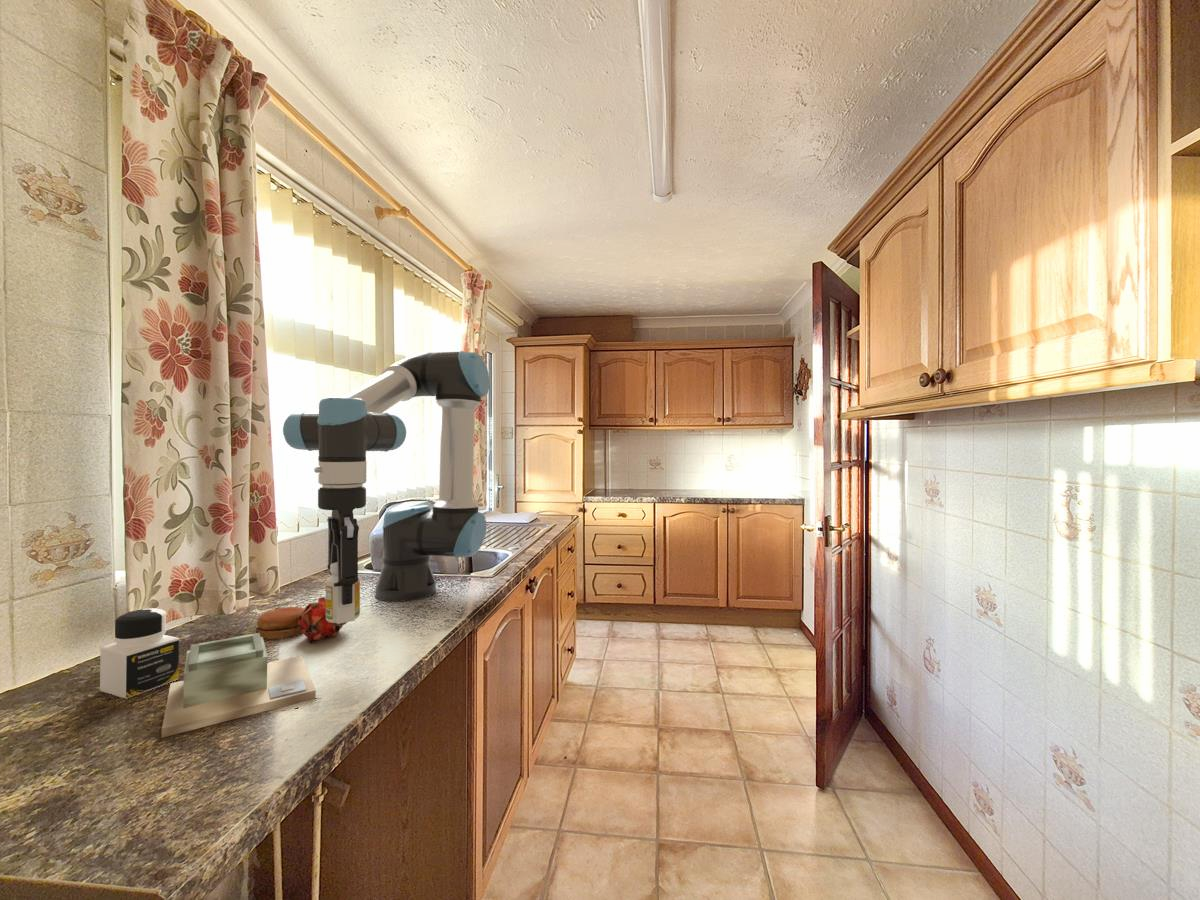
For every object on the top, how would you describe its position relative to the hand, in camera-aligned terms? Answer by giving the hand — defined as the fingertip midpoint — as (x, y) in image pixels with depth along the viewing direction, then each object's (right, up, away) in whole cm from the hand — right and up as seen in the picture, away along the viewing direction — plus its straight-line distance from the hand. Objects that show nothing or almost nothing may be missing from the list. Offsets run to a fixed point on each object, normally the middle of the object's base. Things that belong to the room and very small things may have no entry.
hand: (342, 616), depth 88 cm
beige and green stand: (-11, -9, -10) cm, 17 cm away
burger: (-21, -9, +17) cm, 29 cm away
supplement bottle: (0, -1, 0) cm, 1 cm away
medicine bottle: (-29, -9, -7) cm, 31 cm away
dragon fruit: (-11, -9, +14) cm, 20 cm away
